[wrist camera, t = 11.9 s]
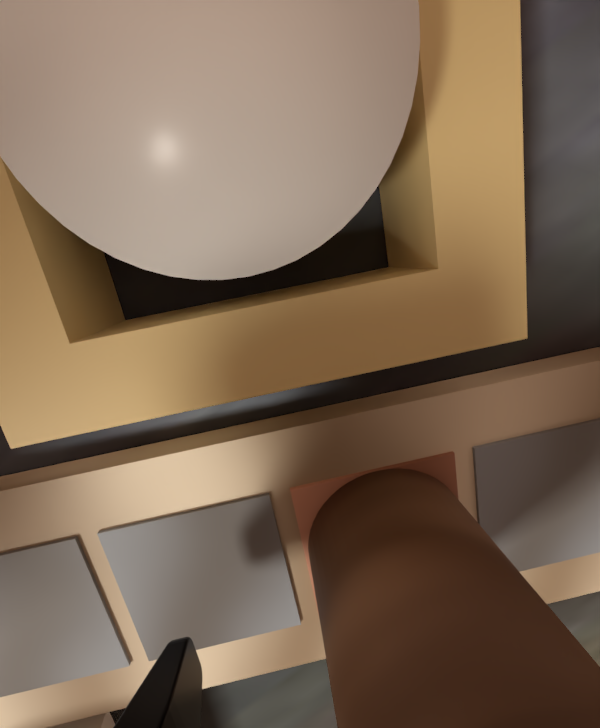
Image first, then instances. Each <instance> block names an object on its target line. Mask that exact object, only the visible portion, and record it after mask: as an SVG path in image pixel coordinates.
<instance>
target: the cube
mask: <svg viewBox="0 0 600 728" xmlns="http://www.w3.org/2000/svg"><path fill="white" fill-rule="evenodd" d="M114 726H115V723H114V720H113V718H112V716H111V714H110V712H107V713H103V714H99V715H95V716H91V717H87V718H83V719H79V720H75V721H71V722H67V723H63V724H59V725H55V726H51V727H47V728H113V727H114Z"/></svg>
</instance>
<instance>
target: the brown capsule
mask: <svg viewBox="0 0 600 728" xmlns="http://www.w3.org/2000/svg"><path fill="white" fill-rule="evenodd" d="M308 552H309V559H310V565H311V571H312V577H313V583H314V589H315V595H316V601H317V607H318V613H319V619H320V625H321V631H322V637H323V643H324V649H325V655H326V661H327V667H328V673H329V679H330V685H331V691H332V697H333V703H334V709H335V714H336V720H337V726H338V728H600V667H599V666H598V664H597V663H596V662H595V661H594V660H593V659H592V657H591V656H590V655H589V654H588V653H587V651H586V650H585V649H584V648H583V647H582V645H581V644H580V643H579V642H578V641H577V640H576V638H575V637H574V636H573V635H572V634H571V632H570V631H569V630H568V629H567V628H566V627H565V625H564V624H563V623H562V622H561V621H560V619H559V618H558V617H557V616H556V615H555V614H554V612H553V611H552V610H551V609H550V608H549V606H548V605H547V604H546V603H545V602H544V600H543V599H542V598H541V597H540V596H539V595H538V593H537V592H536V591H535V590H534V589H533V587H532V586H531V585H530V584H529V583H528V582H527V580H526V579H525V578H524V577H523V576H522V574H521V573H520V572H519V571H518V570H517V569H516V567H515V566H514V565H513V564H512V563H511V561H510V560H509V559H508V558H507V557H506V555H505V554H504V553H503V552H502V551H501V550H500V548H499V547H498V546H497V545H496V544H495V542H494V541H493V540H492V539H491V538H490V537H489V535H488V534H487V533H486V532H485V531H484V529H483V528H482V527H481V526H480V525H479V524H478V522H477V521H476V520H475V519H474V518H473V516H472V515H471V514H470V513H469V512H468V510H467V509H466V508H465V507H464V506H463V505H462V503H461V502H460V501H459V500H458V499H457V497H456V496H455V495H454V494H453V493H452V492H451V491H450V490H449V488H448V487H447V486H446V485H444V484H443V483H442V482H440V481H439V480H438V479H436V478H434V477H432V476H430V475H428V474H425V473H423V472H420V471H415V470H411V469H401V468H399V469H384V470H378V471H374V472H371V473H367V474H365V475H362V476H360V477H357V478H355V479H354V480H352V481H350V482H348V483H347V484H345V485H344V486H342V487H341V488H339V489H338V490H337V491H336V492H335V493H334V494H332V495H331V496H330V497H329V499H328V500H327V501H326V502H325V503H324V504H323V506H322V507H321V509H320V510H319V512H318V513H317V515H316V517H315V519H314V521H313V524H312V527H311V530H310V534H309V540H308Z"/></svg>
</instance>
